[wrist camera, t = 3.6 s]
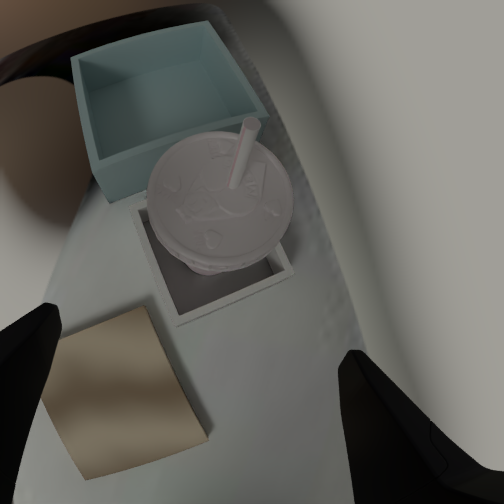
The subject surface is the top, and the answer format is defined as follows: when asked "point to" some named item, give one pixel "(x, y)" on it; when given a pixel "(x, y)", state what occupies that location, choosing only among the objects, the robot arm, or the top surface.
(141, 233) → the grey tray
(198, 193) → the smoothie
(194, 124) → the bin
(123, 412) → the oak board
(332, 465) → the top surface
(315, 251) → the top surface
